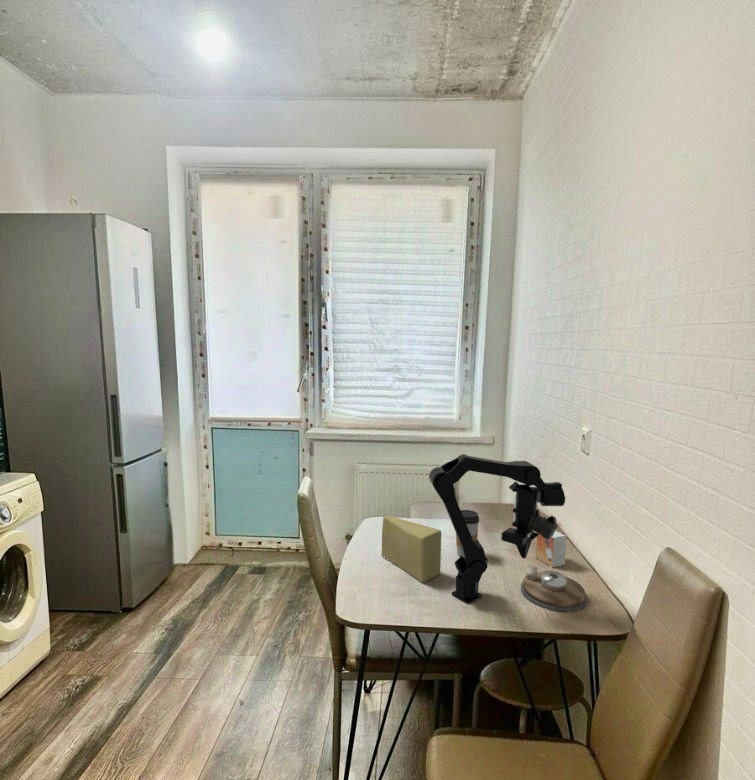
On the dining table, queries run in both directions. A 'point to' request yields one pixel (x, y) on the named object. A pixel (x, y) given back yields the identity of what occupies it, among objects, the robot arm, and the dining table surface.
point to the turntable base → (550, 605)
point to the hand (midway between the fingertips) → (523, 557)
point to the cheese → (412, 547)
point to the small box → (551, 549)
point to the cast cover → (553, 581)
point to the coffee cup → (469, 526)
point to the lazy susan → (560, 599)
